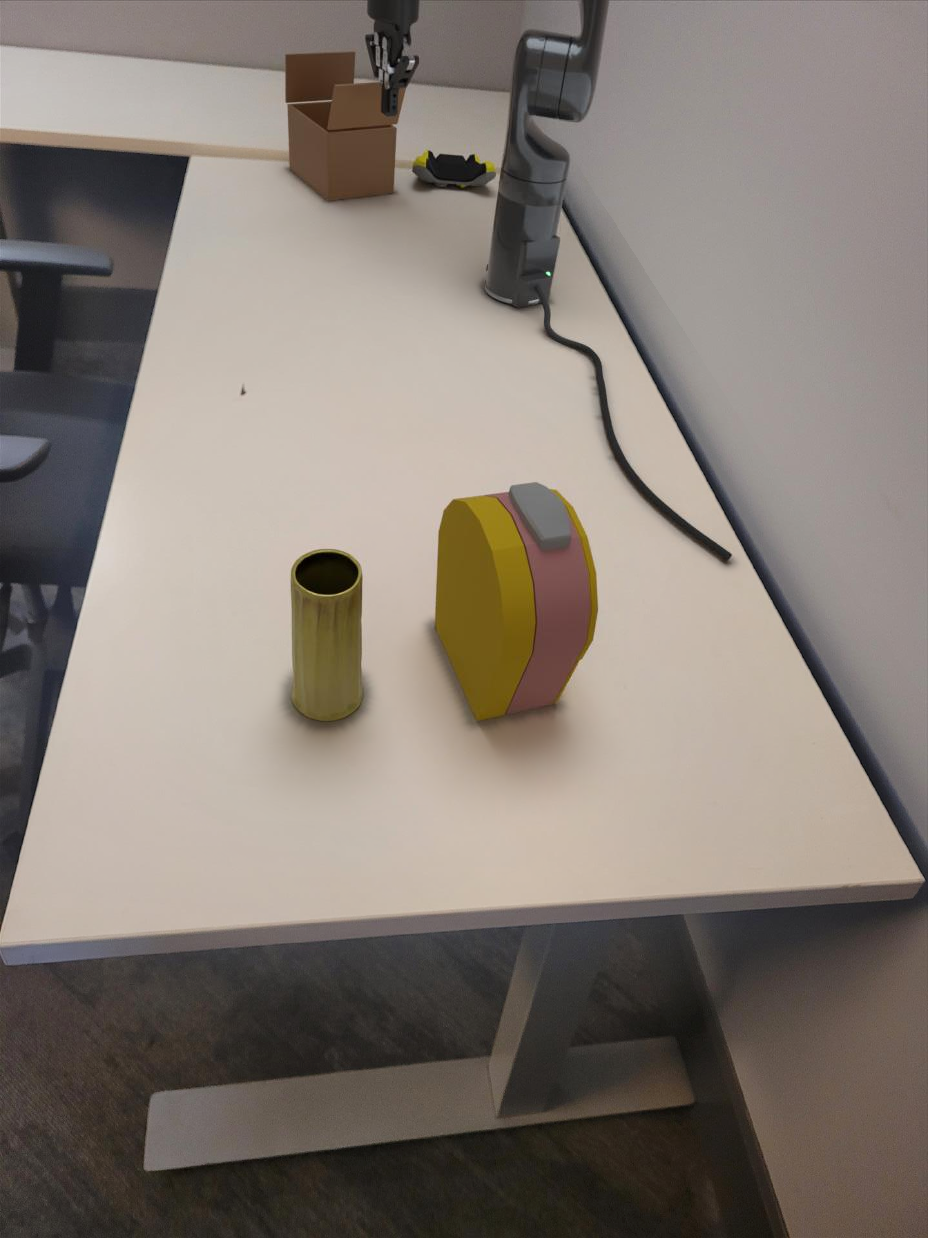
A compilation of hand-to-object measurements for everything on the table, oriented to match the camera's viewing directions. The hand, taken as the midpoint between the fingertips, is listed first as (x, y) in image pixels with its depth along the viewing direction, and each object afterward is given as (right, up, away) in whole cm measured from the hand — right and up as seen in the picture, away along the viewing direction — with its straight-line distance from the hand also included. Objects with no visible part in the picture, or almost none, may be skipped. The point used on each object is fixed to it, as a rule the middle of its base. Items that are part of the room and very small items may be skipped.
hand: (388, 114), depth 133 cm
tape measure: (+15, -83, -56) cm, 102 cm away
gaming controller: (+9, +1, +23) cm, 25 cm away
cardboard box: (-10, -1, +19) cm, 21 cm away
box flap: (-4, +4, +3) cm, 6 cm away
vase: (0, -86, -61) cm, 105 cm away
